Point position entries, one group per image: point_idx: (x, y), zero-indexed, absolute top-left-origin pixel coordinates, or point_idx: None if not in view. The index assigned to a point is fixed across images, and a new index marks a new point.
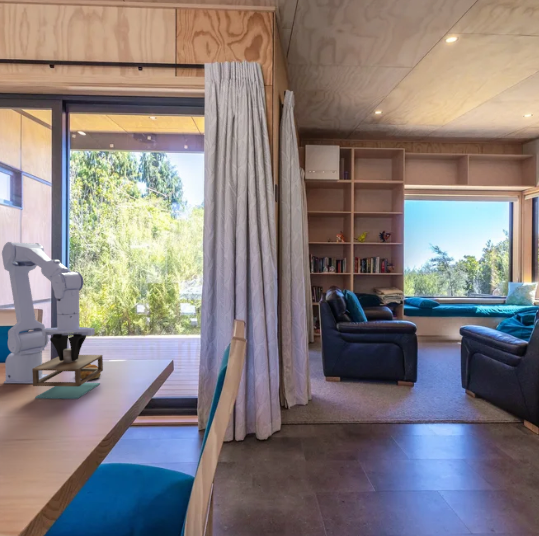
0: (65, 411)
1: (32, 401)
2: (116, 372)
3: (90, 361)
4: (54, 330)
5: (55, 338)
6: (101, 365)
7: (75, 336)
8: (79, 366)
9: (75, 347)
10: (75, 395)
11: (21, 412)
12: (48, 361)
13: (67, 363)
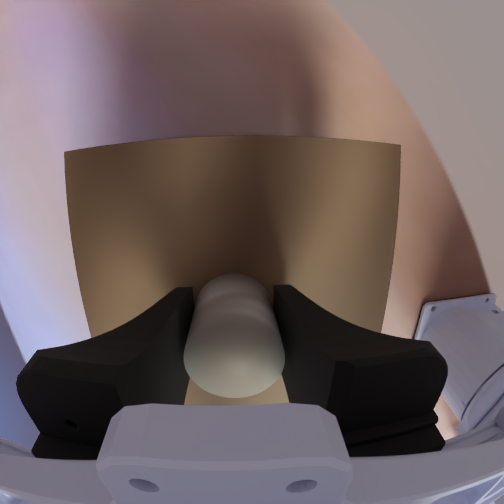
0: (114, 36)
1: (316, 112)
2: None
3: (87, 307)
4: (447, 481)
5: (368, 367)
6: None
7: (91, 439)
8: (85, 201)
9: (111, 330)
10: None
11: (277, 11)
12: (381, 296)
13: (216, 263)
